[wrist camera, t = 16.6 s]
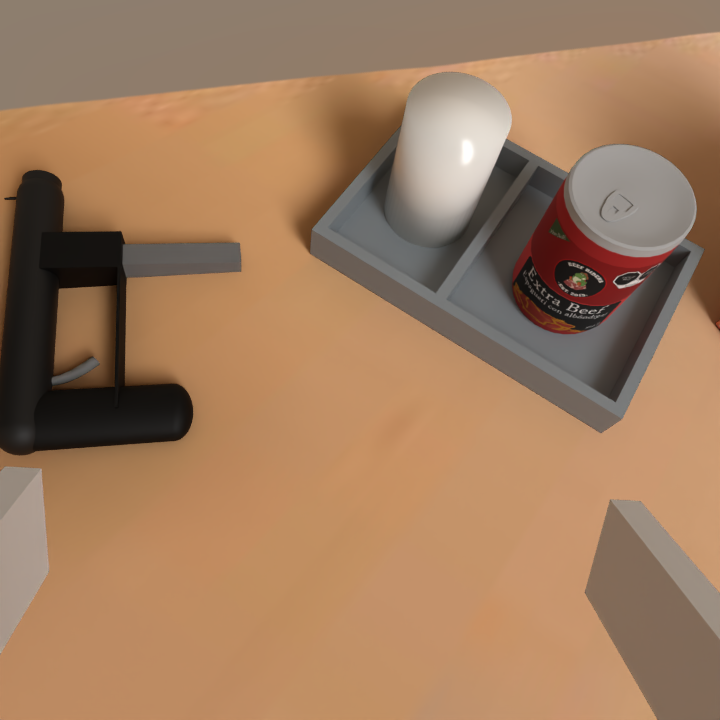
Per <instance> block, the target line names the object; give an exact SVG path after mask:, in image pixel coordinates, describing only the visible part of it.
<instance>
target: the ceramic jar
mask: <svg viewBox="0 0 720 720" xmlns="http://www.w3.org/2000/svg"><path fill="white" fill-rule="evenodd" d="M511 123H512V116H511V111H510V108H509V105H508V103H507V101H506V100H505V98H504V97H503V96H502V94H501V93H500V92H499V91H498V90H497V89H496V88H494V87H493V86H492V85H491V84H489V83H487V82H486V81H484V80H482V79H480V78H478V77H475V76H472V75H469V74H465V73H459V72H442V73H437V74H433V75H430V76H428V77H426V78H424V79H422V80H421V81H419V82H418V83H417V84H416V85H415V86H414V87H413V88H412V90H411V91H410V93H409V96H408V99H407V103H406V108H405V112H404V117H403V121H402V126H401V130H400V135H399V139H398V144H397V148H396V153H395V158H394V162H393V167H392V171H391V176H390V180H389V185H388V189H387V194H386V198H385V203H384V212H385V217H386V219H387V222H388V224H389V225H390V227H391V228H392V230H393V231H394V232H395V233H396V234H397V235H398V236H400V237H401V238H402V239H404V240H405V241H407V242H409V243H412V244H414V245H417V246H421V247H427V248H437V247H443V246H447V245H449V244H452V243H454V242H455V241H457V240H458V239H459V238H460V237H462V235H463V234H464V233H465V231H466V230H467V228H468V225H469V223H470V221H471V218H472V216H473V214H474V211H475V209H476V207H477V205H478V202H479V200H480V198H481V195H482V193H483V191H484V188H485V186H486V184H487V181H488V179H489V177H490V174H491V172H492V170H493V168H494V165H495V163H496V161H497V158H498V156H499V154H500V151H501V149H502V147H503V144H504V142H505V140H506V137H507V135H508V133H509V130H510V128H511Z"/></svg>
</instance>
